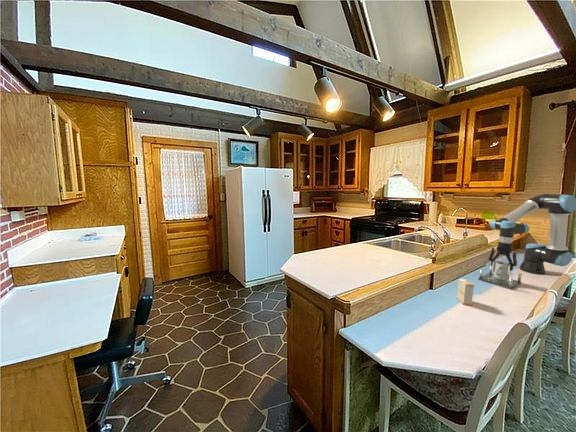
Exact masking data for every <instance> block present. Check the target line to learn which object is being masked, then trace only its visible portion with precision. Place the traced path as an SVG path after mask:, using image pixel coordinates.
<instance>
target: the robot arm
mask: <svg viewBox="0 0 576 432" xmlns="http://www.w3.org/2000/svg"><path fill="white" fill-rule="evenodd" d="M538 210H548V212H547V213H548V214H549V215H550V225H549V235H548V236H549V238H548V245H547V244H544V243H526V244H525V245H526V246H525V248H524V256H523V260H522V262H521V263H520V265H519V268H518V269H519V270H521V271H523V272H526V273H529V274H536V275H545V274H546V267H545V264H544V263H548V264H551V265H555V266H559V267H565V266H568V265H570V263H571V262H572V260H573V258H574V256H573V253H572V252H570V251H569V248H568V246H567V236H568V235H567V233H568V231H567V230H568V224H569V223H568V221H569V216H570V215H571V214H572V212H575V211H576V197H575V196H574V195H570V194H560V193H559V194H557V193H556V194H554V193H541V194H538V195H536V196H533V197H531V198H528V199H527V200H525V201H524V202H523V204H521V205H520V206H518V207H516V208H515V209H514V210H512V211H511V212H509V213H507V214H506V215H504V216H502V217H501V218H499V219H492V220H491V221H490V223H489V227H490V228H491V229H493V230H496V231H499V236H498V242H497V247H492V248H491V252H490V254H489V257H488V261H490V266H492V272H494V268H495V262H496V260H497V258H498V257H499V256H500V255H501V256H502V255H503V256H506V259H507V262H508V263H509V264H510V265H509V267H508V273H507V275H509V276H510V275H511V271H513V269H514V267H517V266H518V261H517V254H518V252H517V251H514V250H512V247H513V241H514V235H523V234H527V233H528V232H529V230H530V226H529V225H528V224H526V223H522V222H520V223H518V221H520V220H521V219H522V218H524V217H526V216H527V215H530V213H532V212H536V211H538ZM496 251H497V253H496V255H495V252H496ZM510 254H511V255H512V258H511V255H510ZM494 255H495V256H494Z"/></svg>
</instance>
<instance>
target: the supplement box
mask: <svg viewBox="0 0 576 432" xmlns="http://www.w3.org/2000/svg"><path fill="white" fill-rule="evenodd" d="M457 284H458V286H457V294H456V295H457V296H456V299H457V300H458V301H459V302H460V303H461V304H462V305H465V306H466V305H467V306H472V303H473V295H474V290H475V284H474V283H472V281H470V280H469V279H467V278H466V279H465V278H459V280H458V283H457Z"/></svg>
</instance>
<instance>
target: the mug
mask: <svg viewBox="0 0 576 432" xmlns="http://www.w3.org/2000/svg"><path fill="white" fill-rule="evenodd" d="M509 265H510V264H509V262H507V261H500V260H499V261H498V260H497V261H496V260H495V268H494V270H493V274H494V275H493V276H494V277H496V278H499V279H504V280H507V279H510V274H509V275H507V273H508V267H509Z"/></svg>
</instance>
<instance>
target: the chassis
mask: <svg viewBox="0 0 576 432" xmlns="http://www.w3.org/2000/svg"><path fill="white" fill-rule="evenodd" d="M483 274H484V269H483V270H482V269H480V270H479V277H478V278H477V279H478V281H482V282H484V283H488V284H492V285H495V286H497V287H502V288H504V289H507V290H512V289H515V288H516V287H518V286H520V285H521V284H522V276H523V274H522V273H518V276H517V280H516V279H514V278H512V277H509V279H507V280H504V279H499V278H496V277H494V276H493V275H494V273H493V271H492V266H491V265H490V266H489V272H488V273H486V274H484V275H483Z"/></svg>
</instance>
